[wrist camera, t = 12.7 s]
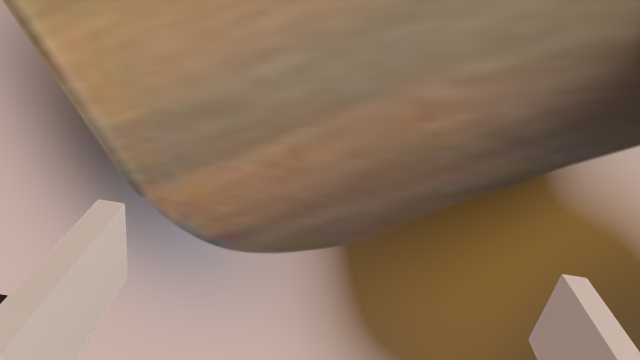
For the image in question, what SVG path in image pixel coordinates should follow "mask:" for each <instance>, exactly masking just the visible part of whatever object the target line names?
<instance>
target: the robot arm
mask: <svg viewBox="0 0 640 360" xmlns="http://www.w3.org/2000/svg"><path fill="white" fill-rule="evenodd" d="M127 278H128V270H127V245H126V220H125V204H122V203H117V202H111V201H105V200H98V201H97V202H96V203H95V204H94V205H93V206H92V207H91V208H90V209H89V210H88V211H87V212H86V213H85V215H83V216H82V218H81V219H80V220H79V221H78V222H77V223H76V224H75V225H74V226H73V227H72V228H71V229H70V230H69V231H68V233H67V234H66V235H65V236H64V237H63V238H62V239H61V240H60V241H59V242H58V243H57V244H56V245H55V246H54V247H53V248H52V249H51V251H50V252H49V253H48V254H47V255H46V256H45V257H44V258H43V259H42V260H41V261H40V262H39V263H38V265H36V267H35V268H34V269H33V270H32V271H31V272H30V273H29V274H28V275H27V276H26V277H25V278H24V279H23V280H22V282H21V283H20V284H19V285H18V286H17V287H16V288H15V289H14V290H13V291H12V292H11V293H10V294H9V295H8V296H7V295H1V294H0V360H75V359H76V358H77V356H78V355H79V353H80V352H81V350H82V348H83V347H84V345H85V344H86V342H87V341H88V339H89V337H90V336H91V334H92V333H93V331H94V329H95V328H96V326H97V325H98V323H99V322H100V320H101V319H102V317H103V315H104V314H105V312H106V311H107V309H108V308H109V306H110V304H111V303H112V301H113V300H114V298H115V297H116V295H117V293H118V292H119V290H120V289H121V287H122V285H123V284H124V282H125V281H126V279H127ZM529 342H530V344H531V346H532V349H533V351H534V353H535V355H536V357H537V359H538V360H640V352H639V351H638V350H637V348H636V347H635V345H634V344H633V342H632V341H631V340H630V338H629V337H628V335H627V334H626V332H625V331H624V330H623V328H622V327H621V326H620V324H619V323H618V321H617V320H616V319H615V317H614V316H613V314H612V313H611V311H610V310H609V309H608V307H607V306H606V305H605V303H604V302H603V300H602V299H601V297H600V296H599V295H598V293H597V292H596V291H595V289H594V288H593V286H592V285H591V283H590V282H589V281H588V279H587V278H583V277H577V276H570V275H564V274H562V275H561V277H560V279H559V281H558V283H557V285H556V287H555V289H554V291H553V293H552V295H551V297H550V298H549V301H548V303H547V304H546V307H545V308H544V310H543V312H542V314H541V316H540V318H539V320H538V322H537V324H536V326H535V328H534V329H533V332H532V333H531V335H530V338H529Z"/></svg>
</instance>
